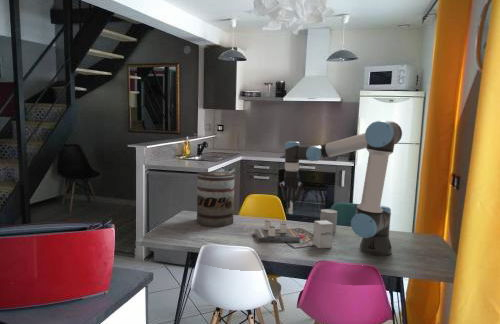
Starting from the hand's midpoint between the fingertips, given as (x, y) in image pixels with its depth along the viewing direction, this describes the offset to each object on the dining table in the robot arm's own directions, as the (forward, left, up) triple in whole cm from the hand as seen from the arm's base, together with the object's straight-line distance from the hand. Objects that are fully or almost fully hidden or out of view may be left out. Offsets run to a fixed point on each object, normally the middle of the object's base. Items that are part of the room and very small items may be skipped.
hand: (290, 213), depth 198 cm
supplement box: (-14, -14, -14) cm, 24 cm away
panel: (+1, +7, -14) cm, 15 cm away
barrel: (+33, +39, -14) cm, 53 cm away
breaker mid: (+1, +4, -11) cm, 11 cm away
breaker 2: (-5, +11, -11) cm, 16 cm away
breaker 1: (+6, +11, -11) cm, 17 cm away
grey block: (+11, -26, -14) cm, 31 cm away
